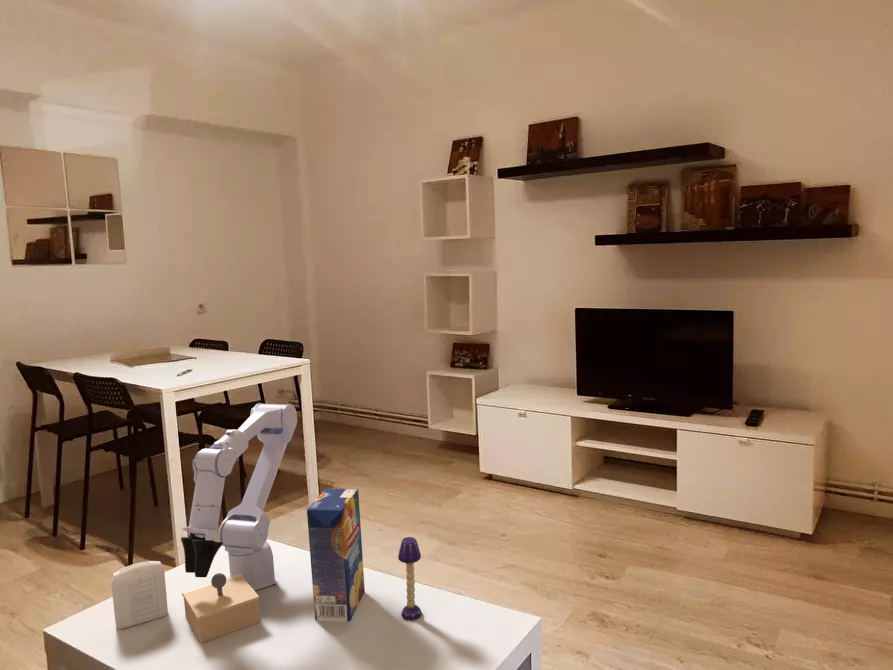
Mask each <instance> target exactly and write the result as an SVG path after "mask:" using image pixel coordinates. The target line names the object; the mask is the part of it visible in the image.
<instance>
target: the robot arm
mask: <svg viewBox="0 0 893 670" xmlns="http://www.w3.org/2000/svg"><path fill="white" fill-rule="evenodd" d="M249 413H250V416H249V417H248V418H247V419H246V420H245V421H244V422H243V423H242V424H241V426H239V427H238V429H227V430H226V431H225V434H223V436H221V437H220V438H219V439H218V440H217V441H214V442H213V444H212V445H211V446H209V448H206V447H205V448H202V449H201V450H199V451H198V452H197V453H196V455H194V456H195V457H194V459H192V470H193V482H194V483H195V485H194V492H193V499H192V503H191V509H190V517H189V523H188V526H183V527H182V529H181V531H185V532H187V536H188V537H186V536H181V537H180V541H181V544H182V548H183V554H184V569H185V573H186V574H187V573H189V574H191V573H193V574H194V576H195V578H207V576H208V575H209V572H210V569H211V567H212V563H213V562H214V558H215V556H216V554H217V553H218V552H219V550H220V549H221V547H222V546H223V547H224V551H225V552H227V554H228V565H229V574H230V575H229V577H231V576H235V575H238V574H241V575H242V577H243V578H244V579H245V580H246V581H247V583H248V584H249V585H250V586H251V587H252V588H253V590H254V591H255V592H256V591H258V590H261V589H263V588H264V589H265V588H267V587H270V586H273V584H274V585H276V584H277V581H276V578H275V577H276V576H275V564H274V561H275V560H274V554H273V551H272V547H271V545H270V542H268V541H267V540H268V534H269V527H270V524H271V520H270V517H269V516H268V515H267V514H266V512H265V511H264V509H265V506H266V504H267V501H268V498H269V495H270V493H271V489H272V487H273V485H274V481H275V480H276V476H277V473H278V471H279V468H280V466H281V462H282V459H283V457H284V454H285V451H286V449H287V446H288V443H289V442H291V440H292V438H293V435H294V432H295V430H296V427H297V424H298V414H297V410H296V408H295V406H294V405H293V404H291V403H288V404H276V403H274V404H273V403H271V404H270V403H261V402H258V403H256V404H255V405H254V406H253V407H252V408H251V410H250V412H249ZM255 436H257V439H258V441H260V442H262V443H263V447H262V450H261V452H260V454H259V457H258V460H257V462H256V465H255V468H254V470H253V472H252V475H251V477H250V480H249V482H248V484H247V488H246V491H245V493H244V496H243V497H242V500H241V503H240V504H238V505H237V506H235V507H233V508H232V509H230V510H229V511H228V513H227V514H226V517H225V518H224V520H223V521H222V522H221V524H220V526H219V521H220V515H221V513H220V512H221V507H222V502H223V501H222V500H223V494H224V487H225V483H226V482H225V481H226V477H227V476H228V475H231V473H232V470H233V468H234V465H235V463H236V461H237V460H238V458H240V456H242V454H243V453H244V452H245V451H246V450H248V447H249V441H250V440H252V439H253V438H254V437H255ZM218 527H219V528H218ZM217 539H218V541H217Z"/></svg>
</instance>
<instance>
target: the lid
mask: <svg viewBox="0 0 893 670" xmlns="http://www.w3.org/2000/svg"><path fill="white" fill-rule="evenodd" d="M210 580H211V581H210V583H206V584H203V585H200V586H196V587H194V588H190V589H187V590H184V591H181V596H182V597H183V600H184V599H185V600H186V602H187V603H188V605H189V607H190V608H191V610H192V612H193V613H194V615H195V617H196V618H197V620H200V619H203V618H206V617H209V616H212V615H215V614H218V613H221V612H224V611H226V610H229V609H232V608H235V607H238V606H241V605H244V604H247V603H250V602H253V601H256V600H258V601H259V600H260V595H258V593H257V591H256V590H255V591H254V590H253V588H252V587H251V586H250V585H249V584H248V583H247V581H246V580H245V579H244V578H243V577H242V575H241V574H238V575H235V576H231V577H230V576H229V577H226V575H225V574H223V573H221V572H219V573H215V574H214V575H213V576H212V578H211V579H210Z"/></svg>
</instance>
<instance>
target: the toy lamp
mask: <svg viewBox="0 0 893 670" xmlns="http://www.w3.org/2000/svg"><path fill="white" fill-rule="evenodd" d="M421 557H422V555H421V551H420V547H419V543H418V541H417V539H416V538H415V537H413V536H407V537H403V538H402V539H401V543H400V546H399V550H398V555H397V559H398V561H400V562H401V563H403V564H405V570H406V575H405V577H406V605H405V606H404V607H403V608H402V610H401V614H400V615H401V618H402V619H404V620H406V621H416V620H418V619H420V618H421V617H422V610H421V607H419V605H417V604H416V601H415V599H416V594H415V592H416V587H415V584H416V583H415V581H416V580H415V565H414V564H415V563H417V562H419V561H420V560H421Z"/></svg>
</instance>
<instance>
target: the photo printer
mask: <svg viewBox="0 0 893 670" xmlns="http://www.w3.org/2000/svg"><path fill="white" fill-rule="evenodd" d="M165 574H166V573H165V570H164V567H163V565H162V562H161V561H158V560H148V561H147V560H146V561H140V562H138V563H137V562H136V563H134V564H130V565H127V566H125V567H122V568H120V569H119V570H117V571H115V572H114V573H113V574H112V580H111V591H112V601H113V610H114V620H115V621H114V622H115V628H116V629H119V630H121V629H126V628H130V627H133V626H136V625H139V624H140V625H141V624H143V623H147V622H150V621H151V620H152V621H153V620H157V619H159V618H162V617H165V616H167V614H168V613H169V609H168V608H169V607H168V599H167V597H168V596H167V587H166V575H165Z"/></svg>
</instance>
